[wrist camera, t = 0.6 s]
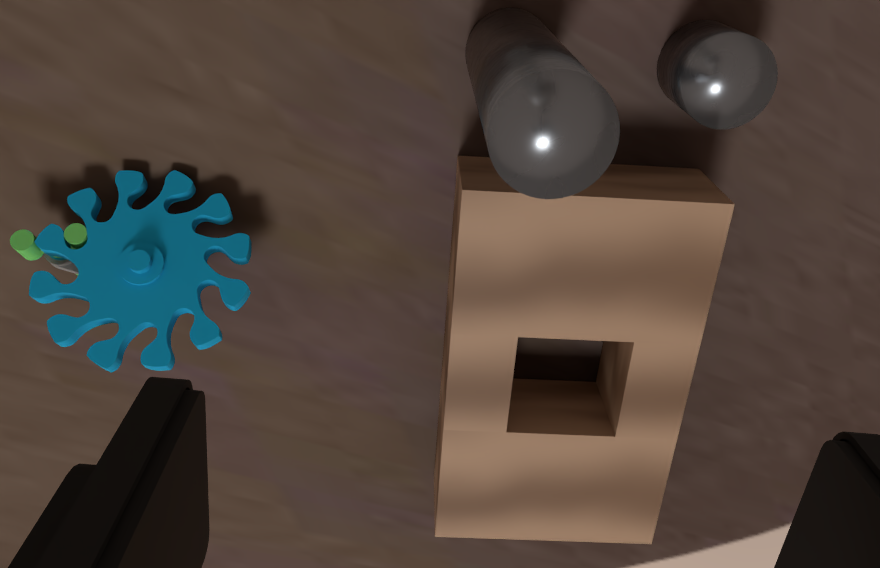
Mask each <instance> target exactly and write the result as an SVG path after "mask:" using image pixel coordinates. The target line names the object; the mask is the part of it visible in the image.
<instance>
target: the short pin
mask: <svg viewBox="0 0 880 568" xmlns="http://www.w3.org/2000/svg"><path fill="white" fill-rule="evenodd" d="M777 75H778V72H777V64H776V60H775V58H774V55H773V53H772V52H771V50H770V49H769V47H768V46H767V45H766V44H765V43H764V42H762V41H761V40H759V39H758V38H756V37H753V36H751V35H749V34H746V33H744V32H742V31H739V30H737V29H735V28H732V27H730V26H727V25H725V24H723V23H720V22H717V21H713V20H700V21H695V22H692V23H689V24H687V25H685V26H683V27H681V28H680V29H679V30H677V31H676V32H675V33H674V34H673V35H672V36H671V37H670V38H669V39H668V40H667V42H666V43H665V45H664V46H663V48H662V50H661V52H660V55H659V59H658V63H657V77H658V81H659V85H660V87H661V89H662V91H663V92H664V94H665V95H666V96H667V97H668V98H669V99H670V100H672V101H673V102H674V103H675V104H676V105H678V106H679V107H680V108H681V109H683V110H684V111H685V112H686V113H687V114H689V115H690V116H691V117H692V118H693V119H695V120H696V121H697V122H699V123H700V124H702V125H704V126H706V127H709V128H713V129H731V128H735V127H738V126H741V125H743V124H745V123H747V122H749V121H751V120H752V119H753V118H755V117H756V116H757V115H758V114H760V112H761V111H762V110H763V109H764V108H765V107H766V105H767V104H768V103H769V101H770V99H771V98H772V95H773V93H774V91H775V87H776V83H777Z"/></svg>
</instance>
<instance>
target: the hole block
mask: <svg viewBox="0 0 880 568" xmlns="http://www.w3.org/2000/svg"><path fill="white" fill-rule="evenodd" d="M734 205H735V204H734V203H733V202H732V201H731V200H730V199H729V198H728V197H727V196H726V195H725V194H724V193H723V192H722V191H721V190H720V189H719V188H718V187H717V186H716V185H715V184H714V183H713V182H712V181H711V180H710V179H709V178H708V177H707V176H706V175H705V174H704V173H703V172H702V171H701V170H699V169H695V168H676V167H658V166H640V165H622V164H610V165H609V167H608V168H607V170H606V171H605V172H604V173H603V174H602V176H601V177H600V178H599V179H598V180H597V181H595V182H594V183H593V184H592V185H590V186H589V187H588V188H586V189H584V190H582V191H581V192H579V193H576V194H574V195H571V196H568V197H564V198H558V199H539V198H534V197H530V196H527V195H525V194H522V193H520V192H518V191H516V190H515V189H513V188H512V187H511V186H509V185H508V184H507V183H506V182H505V181H504V180H503V179H502V178H501V177H500V175H499V174H498V173H497V171H496V170H495V168H494V166H493V164H492V161H491V159H490V157H476V156H458V159H457V173H456V186H455V200H454V213H453V227H452V240H451V254H450V267H449V281H448V294H447V308H446V321H445V334H444V348H443V361H442V375H441V388H440V402H439V415H438V429H437V442H436V456H435V469H434V506H435V537H460V538H489V539H519V540H549V541H578V542H608V543H638V544H652V540H653V536H654V532H655V527H656V523H657V519H658V515H659V511H660V507H661V503H662V499H663V495H664V491H665V487H666V483H667V479H668V474H669V470H670V466H671V462H672V458H673V454H674V450H675V446H676V442H677V438H678V434H679V430H680V425H681V421H682V417H683V413H684V409H685V405H686V401H687V397H688V393H689V389H690V385H691V381H692V376H693V372H694V368H695V364H696V360H697V356H698V352H699V348H700V344H701V340H702V336H703V332H704V328H705V323H706V319H707V315H708V311H709V307H710V303H711V299H712V295H713V291H714V287H715V283H716V279H717V274H718V270H719V266H720V262H721V258H722V254H723V250H724V246H725V242H726V238H727V234H728V230H729V225H730V221H731V217H732V213H733V209H734ZM518 337H527V338H550V339H572V340H594V341H603V346H602V352H601V357H600V363H599V368H598V374H597V380H596V382H584V381H561V380H537V379H514V378H513V374H514V366H515V357H516V349H517V341H518Z"/></svg>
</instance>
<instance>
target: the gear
mask: <svg viewBox="0 0 880 568" xmlns="http://www.w3.org/2000/svg"><path fill="white" fill-rule="evenodd" d="M115 183H116V185H117V187H118V192H119V200H118V204H117V207H116V210H115V212H114V214H113V216H112V218H111V219H110V220H108V221H106V222H97V221H96V219H97V216H98V214H99V212H100V209H101V205H102V204H101V200H100V198H99V197H98V196H97V194H96V193H95V192H94V190H93V189H91V188H86V189H83V190H80V191H77V192H75V193H73V194H71V195H69V196H68V198H67V201H68V205H69V206H70V207H71V209H72V210H73V211H74V212H75V213H76V214H77V215H78V216H79V217H81V218H82V219H83V220H84V223H85V225H86V228H85V226H83V225H82V224H79V223H74V224H71V225H69V226H68V227H67V228H66V229H65V231H63V230H62V229H61V228H60V227H59V226H57V225H55V224H50V225H48V226H47V227H46V228H45V229H44V230H43V231H42V232H41V233H40V234H39V235H38V237H37V238H36V237H35V236H34V235H33V234H32V233H31V232H30V231H28V230H19V231H16V232H15V233H14V234H13V235H12V236H11V239H10V244H11V246H12V247H13V248H14V249H15V250H16V251H17V252H18V253H20V254H21V255H22V256H23V257H24V258H25V259H27V260H37V259H39V258H40V257H41V256H42V255H44V257H45V258H46V259H47V260H48V261H49V262H50V263H51V264H52V265H53V266H54V267H56V268H59V269H62V270H65V271H69V272H72V273H75V274H76V275H78V277H77V279H76V280H75V281H74V282H72V283H70V284H61V283H60V282H59V281H58V280H57V279H56V278H55V277H54V276H53V275H51V274H50V273H49V272H46V271H37V272H34V274H33V276H32V278H31V282H30V287H29V296H31V297H32V298H33V299H35V300H36V301H38V302H40V303H51V302H53V301H55V300H59V299H63V298H77V299H81V300H85V301H88V302H89V303H90V309H89V311H88V312H87V314H85V315H84V316H82V317H79V318H75V317H71V316H68V315H63V314H58V315H55V316H52V317H51V318H49V320H48V321H47V326H48V330H49V332H50V335H51V337H52V338H53V340H54V341H55V343H57V344H58V345H60V346H61V347H67V346H70V345H72V344H74V343H75V342H76V341H77V340H78V339H79V338H80V337H81V336H82V335H83V334H84V333H85V332H87V331H88V330H90V329H92V328H94V327H96V326H100V325H103V324H108V323H118V324H119V331H118V333H117V335H116V336H115V337H113V338H112V339H109V340H104V341H100V342H97V343H95V344H93V345H92V346H91V347H90V348H89V350H88V352H87V356H88V357H89V359H90V360H92V361H93V362H94V363H95V364H97V365H98V366H100V367H102V368H103V369H105V370H107V371H109V372H111V373H112V372H114V371H115V370H117V369H118V368H119V366H120V365H121V363H122V359H123V354H124V352H125V349H126V347H127V346H128V344H129V343H130V342H131V340H132V339H133V338H134V337H135V336H136V335H138V334H139V333H140V332H141V331H143V330H144V329H145V328H148V327H155V328H157V330H158V334H157V337H156V339H155V340H154V341H153V342H152V343H150V344H149V345H148V346H147V347H146V348H145V349H144V350H143V351H142V354H141V363H142V365H144V366H145V367H146V368H148V369H151V370H160V371H163V370H171V369H172V368H173V366H174V363H175V357H174V354H173V352H172V349H171V333H172V330H173V327H174V324H175V322H176V320H177V318H178V317H179V316H180V315H182V314H184V313H191V314H193V315H194V317H195V320H194V323H193V325H192V328H191V331H190V339H191V341H192V342H193V344H194V345H195V346H196V347H197V348H198V349H199V350H202V349H206V348H209V347H211V346H213V345H215V344H217V343H218V342H220V341H221V340H222V333H221V331H220V329H219V328H218V326H217V325H216V324H215V323H214V322H213V321H211V320H210V319H209V318H208V317H207V316H205V314H204V312H203V309H202V305H201V299H200V294H201V291H202V290H203V289H204V288H205V287H207V286H210V285H214V286H217V287H219V289H220V294H221V298H222V300H223V302H224V304H225V305H226V307H227V308H229V309H230V310H233V311H237V310H238V309H240V308H241V307H242V306H243V305H244V303H245V302H246V301H247V299H248V297H249V295H250V294H251V292H250V290H249V288H248V286H247V284H246V283H245V282H243V281H242V280H238V279H230V278H226V277H224V276H221V275H219V274H218V273H216V272H215V271H214V270H213V269H212V268H211V267H210V266H209V265H208V264H207V259H208V257H209V256H210V255H211V254H213V253H215V252H222V253H224V254H226V255H227V256H228V257H229V258H230V260H231V261H233V262H234V263H236V264H239V265H243V264H247V263H248V262H249V260H250V257H251V240H250V237H249V236H248V235H247V234H244V233H237V234H234V235H231V236H228V237H224V238H211V237H206V236H203V235H199V234H197V233H195V229H196V227H197V225H198V224H200V223H202V222H211V223H215V224H219V225H224V224H227V223H229V222H231V221H232V220H233V215H232V212H231V209H230V207H229V204H228V202H227V200H226V199H225V197H224V196H223V194H222V193H217V194H214V195H211V196H210V197H209V198H208V199H207V200H206V201H205V202H204V203H203V204H202V205H201V206H199V207H198V208H196V209H194V210H192V211H189V212H185V213H180V214H170V213H168V208H169V206H170V205H171V204H173V203H175V202H179V201H185V200H188V199H190V198H191V197H192V196H193V195H194V194H195V192H196V188H195V186H194V184H193V182H192V180H191V179H190V178H189V177H187V176H186V175H184V174H182V173H180V172H178V171H176V170H173V171H171V172H170V173H169V174H168V175H167V176H166V179H165V184H164V187H163V189H162V191H161V193H160V194H159V196H158V197H157V198H156V199H155V200H154V201H153V202H152V203H150V204H149V205H148V206H146V207H145V208H143V209H140V210H135V209H132V204H133V202H134V201H135V200H136V199H138V198H139V197H140V196H142V195H143V194H144V193H145V192H146V190H147V186H148V184H147V181H146V179H145V177H144V175H143V174H142V173H141V172H138V171H129V170H125V171H118V173H117V174H116V176H115Z"/></svg>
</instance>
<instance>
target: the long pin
mask: <svg viewBox="0 0 880 568" xmlns="http://www.w3.org/2000/svg"><path fill="white" fill-rule="evenodd" d="M465 57H466V64H467V68H468V72H469V76H470V80H471V84H472V88H473V92H474V96H475V100H476V104H477V108H478V112H479V116H480V120H481V124H482V128H483V132H484V136H485V140H486V144H487V148H488V152H489V156H490V159H491V161H492V164H493V166H494V168H495V170H496V171H497V173H498V174H499V175H500V177H501V178H502V179H503V180H504V181H505V182H506V183H507V184H508V185H509V186H511V187H512V188H513V189H515V190H516V191H518V192H520V193H522V194H525V195H527V196H530V197H534V198H539V199H558V198H564V197H568V196H571V195H574V194H576V193H579V192H581V191H582V190H584V189H586V188H588V187H589V186H590V185H592V184H593V183H594V182H595V181H597V180H598V179H599V178H600V177H601V176H602V174H603V173H604V172H605V171H606V170H607V168H608V167H609V165H610V164H611V162H612V160H613V158H614V156H615V153H616V150H617V147H618V143H619V136H620V122H619V116H618V112H617V109H616V106H615V104H614V102H613V100H612V98H611V97H610V95H609V94H608V92H607V91H606V90H605V89H604V88H603V87H602V86H601V85H600V84H599V83H598V82H597V80H596V79H595V78H594V77H593V76H592V75H591V74H590V73H589V72H588V71H587V70H586V69H585V68H584V67H583V66H582V64H581V63H580V62H579V61H578V60H577V59H576V58H575V57H574V56H573V55H572V54H571V53H570V52H569V51H568V50H567V48H566V47H565V46H564V45H563V44H562V43H561V42H560V41H559V40H558V39H557V38H556V37H555V36H554V35H553V34H552V33H551V31H550V30H549V29H548V28H547V27H546V26H545V25H544V24H543V23H542V22H541V21H540V20H539V19H538V18H537V17H536V16H535V15H533V14H531V13H530V12H528V11H525V10H522V9H519V8H502V9H498V10H495V11H493V12H491V13H489V14H487V15H486V16H484V17H483V18H482V19H481V20H480V21H479V22H478V23H477V24H476V25H475V26H474V28H473V29H472V31H471V33H470V35H469V38H468V40H467V44H466V54H465Z"/></svg>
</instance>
